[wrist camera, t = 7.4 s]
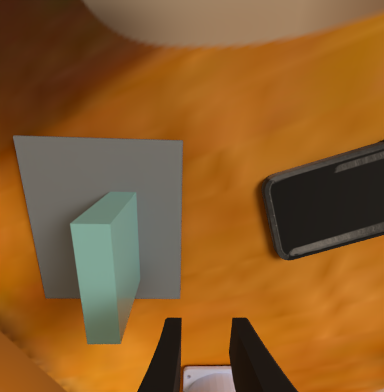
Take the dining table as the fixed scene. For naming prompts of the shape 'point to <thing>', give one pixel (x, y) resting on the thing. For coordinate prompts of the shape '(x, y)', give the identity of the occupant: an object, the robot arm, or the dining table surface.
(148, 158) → the mat
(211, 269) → the dining table surface
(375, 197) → the phone
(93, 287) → the block
